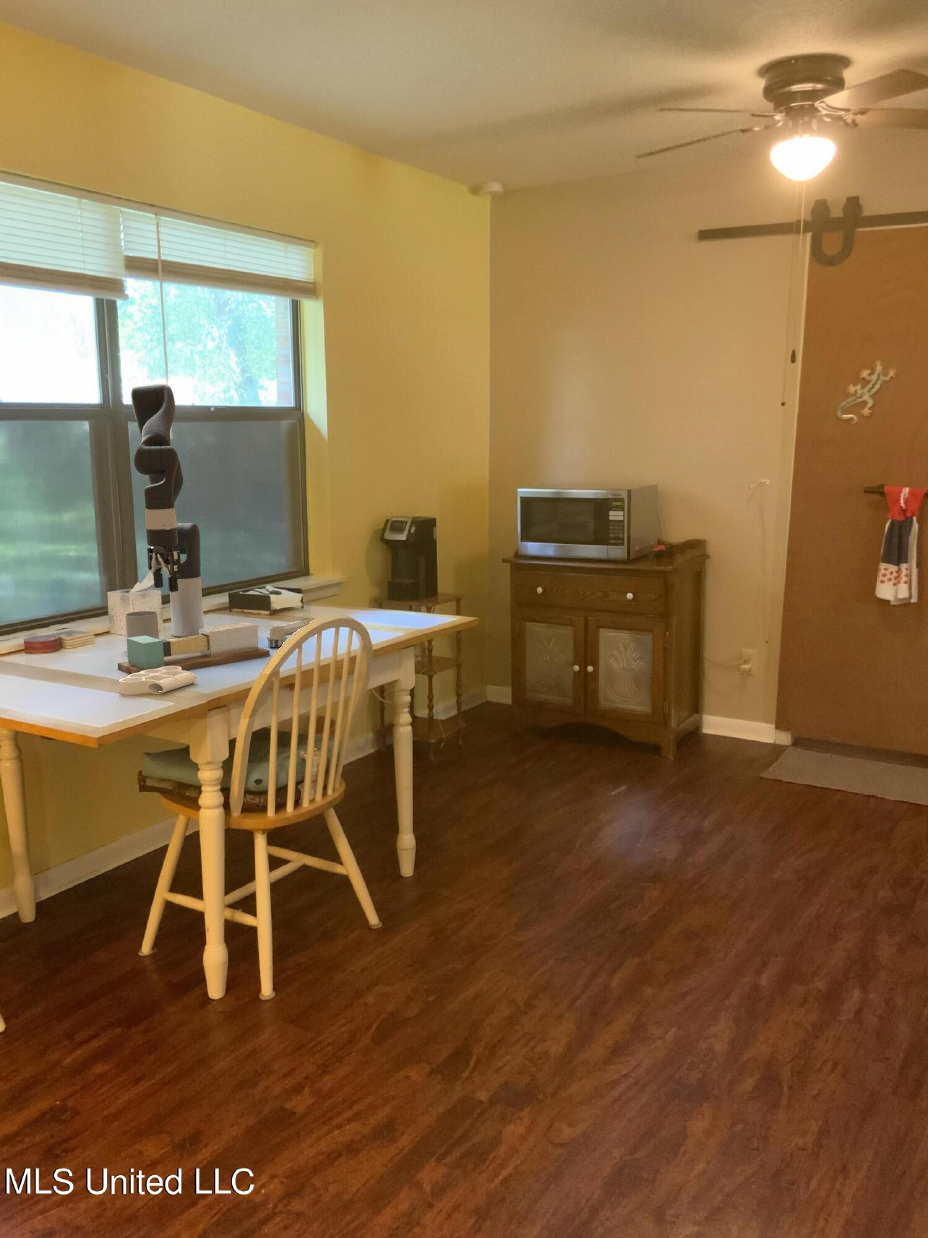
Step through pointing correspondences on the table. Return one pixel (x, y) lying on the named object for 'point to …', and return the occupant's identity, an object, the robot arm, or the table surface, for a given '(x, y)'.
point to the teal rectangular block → (145, 652)
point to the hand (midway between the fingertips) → (166, 589)
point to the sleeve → (230, 638)
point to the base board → (199, 660)
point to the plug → (185, 644)
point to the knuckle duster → (156, 680)
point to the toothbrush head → (283, 632)
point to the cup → (142, 624)
